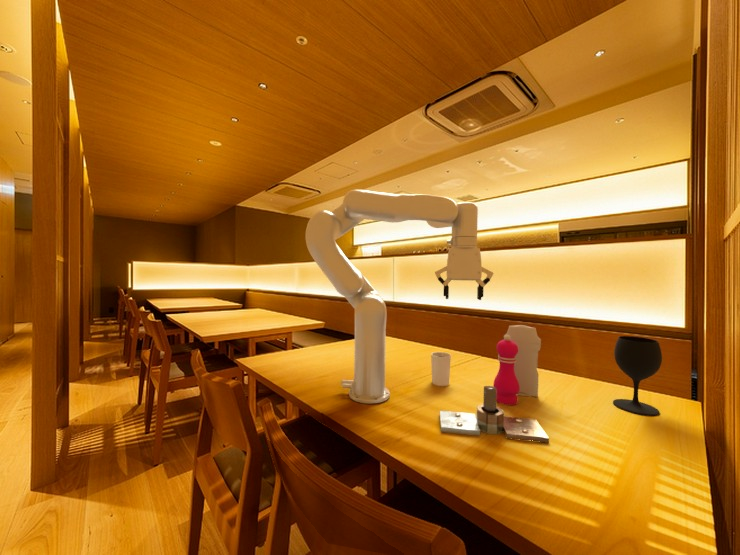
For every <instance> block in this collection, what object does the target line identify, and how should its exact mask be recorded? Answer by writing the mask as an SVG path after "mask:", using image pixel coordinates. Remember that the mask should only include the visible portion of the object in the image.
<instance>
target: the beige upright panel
mask: <svg viewBox="0 0 740 555" xmlns="http://www.w3.org/2000/svg"><path fill="white" fill-rule="evenodd" d="M505 335H509V336H510V337H511V339H510V340H511V341H513V342H515V343H516V344H517V346H518V353H517V355H516V356H515V357H516V362H515V363H514V372H515V376H516V378H517V380H518V382H519V388H520V390H519V392H518V393H517V394H516V396H522V397H530V396H531V397H532V398H538V397H539V372H538V364H539V363H538V361H539V359H538V357H539V351H540V350H541V347H542V346H541V345H542V343H541V342H542V338H540V337H539V336H538V332H537V328H536V327H531V326H528V325H525V324H524V325H523V324H518V325H509V326H508V329H507V331H506V333H505V334H503V340H505V339H504V337H505Z"/></svg>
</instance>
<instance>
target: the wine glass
mask: <svg viewBox="0 0 740 555" xmlns="http://www.w3.org/2000/svg"><path fill="white" fill-rule="evenodd" d="M660 345H661V344H660V342H659V341H658V340H656V339H652V338H649V337H648V338H647V337H641V336H632V335H619V336H618V338H617V340H616V342H615V346H614V354H613V355H614V359H615V362H616V364H617V366H618V368H619V369H620V370H621V372H623V373H624V374H625V375H626V376H627V377H629V378H630V379H631V380H632V382H633V383H632V384H633V395H632V396H633V398H632V399H627V398H626V399H625V398H617V399H616V398H615V399H613V400H612V403H613V406H615V407H616V408H618V409H620V410H622V411H625V412H628V413H631V414H634V415H635V414H636V415H639V416H646V417H655V416H659V415H660V410H659V409H658V408H656V407H655V406H653V405H650V404H648V403H646V402H641V401H640V400H639V386H640V382H641V381H644V380H646V379H648V378H651V377H652V376H654V375H656V373H657V372H658V371H659V370H660V368H661V367H662V366H661V365H662V362H663V354H662V348H661V346H660Z"/></svg>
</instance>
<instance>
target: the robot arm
mask: <svg viewBox="0 0 740 555" xmlns="http://www.w3.org/2000/svg"><path fill="white" fill-rule="evenodd" d="M478 211H479V210H478V205H477V204H476V203H475V202H469V201H466V202H465V201H464V202H457V203H456V201H455V200H453V199H452V198H449V197H447V196H439V195H433V194H432V195H431V194H427V193H426V194H425V193H424V194H423V193H413V194H411V193H410V194H408V193H401V194H397V193H388V192H381V191H380V192H379V191H372V190H365V189H351V190H349V191H348V192H346V194H345V195H344V197H343V200H342V204H341V205H339V206H338V207H337V208H336V209H334V210H332V211H329V210H326V209H325V210H323V209H321V210H318V211H315V213H313V214H312V215H311V217H310V218H309V220H308V222H307V226H306V229H305V243H306V244H305V245H306V247H307V250H308V252H309V254H310V256H311V257H312V259H313V261H314V262H315V264H317V266H318V267H319V268H320V270H321V271H322V272H323V274H324V275H325V276H326V278H327V279H328V281H329V282H330V283H331V284H332V286H333V287H334V289H335V290H336V292H337V293H338V294H339V295H341V296H343V297H344V298H345V300H347V302H348V303H349V304H350V305H351V307H352V308H353V309H354V364H353V366H354V376H353V378H354V379H353V378H352V379H349V380H348V379H341V382H340V384H341V385H340V386H342V389H349V392H348V396H349V398H350V399H351V400H353V401H354V402H357V403H360V404H368V405H369V404H379V403H384V402H385V401H388V399H389V398H390V395H391V392H390V390H389V388H387V387H386V334H387V332H386V331H387V330H386V329H387V319H388V318H387V317H388V316H387V315H388V314H387V312H388V311H387V305H386V302H385V301H384V299H383V298H382V296H381V295H380V294H379V293H378V292H377V290H376V289H375V288H374V287H373V286H372V284H371V283H370V282H369V280H368V279H367V278H366V277H365V276H364V274H363V273H362V272H361V270H360V269H358V267H356V266H355V265H354V264H353V263H352V261H350V260H349V258H348V257H347V256H346V255H345V253H344V252H343V250H342V249H341V247H340V246H339V245H338V244H337V242H336V240H337V239H339V238H341V237H342V236H344V235H345V234H346V233H348V232H349V231H351V230H352V229H353V228H355V227H357V226H358V224H360V223H361V222H363V221H364V220H372V221H378V222H383V223H384V222H386V223H401V222H402V223H403V222H405V221H424V222H426V223H427V224H428V225H429V226H430V227H432V228H434V229H444V228H451V238H450V239H446V245H450V246H451V247H449V248H448V253H447V259H446V266H444V267H442V268H440V269H438V270H436V271H435V272H434V274H435V276H436V279H437V280H438V281H439V282H440V283H441V285H442V286H443V296H444V297H445V299H446V300H448V299H449V296H450V294H449V292H450V290H449V284H450V282H451V281H475V283H477V284H478V286H477V291H476V293H477V295H476V296H477V297H476V298H477V300H479V301H481V300H482V298H483V297H484V287H485V286H486V285H487V284H488V283H489V282H491V279H492V277H493V276H494V272H493V271H491V270H490V269H488V268H485V267H483V265H482V254H481V253H482V252H481V248H480V247H478V217H479V216H478V215H479V214H478V213H479V212H478ZM445 272H446V278H445V279H443V277H442V276H441V274H443V273H445ZM483 273H484V274H485V275H486V277H485V278H484V279H483V280H482V274H483Z"/></svg>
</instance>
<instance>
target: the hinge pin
mask: <svg viewBox="0 0 740 555" xmlns="http://www.w3.org/2000/svg"><path fill="white" fill-rule="evenodd" d="M496 400H497V388H495V387H494V386H492V385H485V386H483V403H482V404H483V411H485V412H487V413H496V406H497V401H496Z"/></svg>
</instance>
